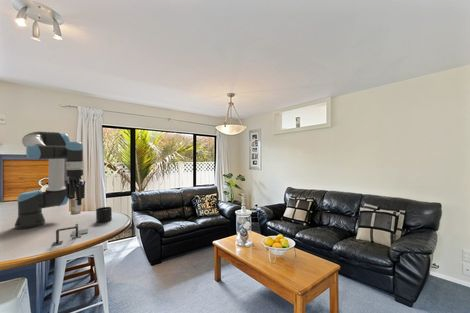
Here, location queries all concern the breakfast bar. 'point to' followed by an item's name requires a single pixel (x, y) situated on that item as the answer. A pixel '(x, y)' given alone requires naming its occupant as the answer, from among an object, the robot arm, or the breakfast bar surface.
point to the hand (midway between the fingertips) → (75, 210)
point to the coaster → (80, 232)
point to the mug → (103, 214)
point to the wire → (65, 229)
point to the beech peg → (73, 208)
